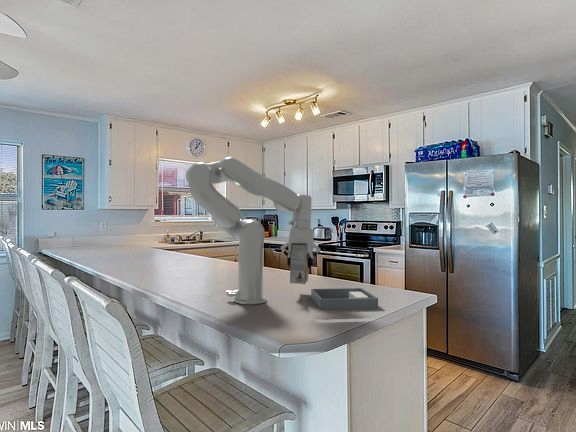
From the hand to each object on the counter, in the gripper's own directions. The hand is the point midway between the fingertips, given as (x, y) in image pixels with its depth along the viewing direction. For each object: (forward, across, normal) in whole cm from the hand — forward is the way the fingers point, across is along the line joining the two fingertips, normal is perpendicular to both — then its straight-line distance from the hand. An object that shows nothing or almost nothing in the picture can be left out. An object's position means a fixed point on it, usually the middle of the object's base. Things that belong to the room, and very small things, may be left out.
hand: (299, 267), depth 149 cm
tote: (+12, +14, -16) cm, 24 cm away
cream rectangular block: (+10, +20, -16) cm, 28 cm away
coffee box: (+6, 0, 0) cm, 6 cm away
